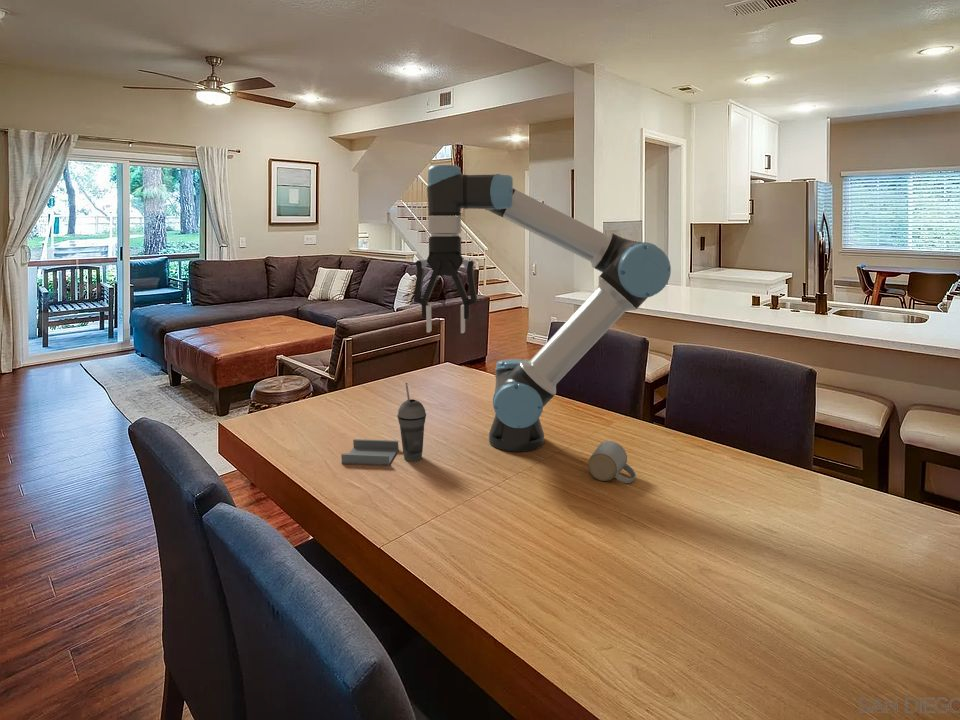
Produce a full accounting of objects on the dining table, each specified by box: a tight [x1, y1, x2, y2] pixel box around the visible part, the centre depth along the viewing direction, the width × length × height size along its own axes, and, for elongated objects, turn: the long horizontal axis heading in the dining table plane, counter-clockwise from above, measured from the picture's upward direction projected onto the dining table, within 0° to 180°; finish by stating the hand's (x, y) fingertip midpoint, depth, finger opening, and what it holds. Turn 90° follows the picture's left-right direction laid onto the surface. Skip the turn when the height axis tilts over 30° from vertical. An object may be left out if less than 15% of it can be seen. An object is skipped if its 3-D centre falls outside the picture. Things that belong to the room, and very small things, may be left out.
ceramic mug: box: [587, 440, 637, 484], centre depth 138 cm, size 11×8×8 cm
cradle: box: [340, 438, 400, 467], centre depth 151 cm, size 12×11×2 cm
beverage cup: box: [397, 382, 427, 463], centre depth 148 cm, size 7×7×20 cm
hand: (446, 331), depth 141 cm, fingers open, 8 cm apart
